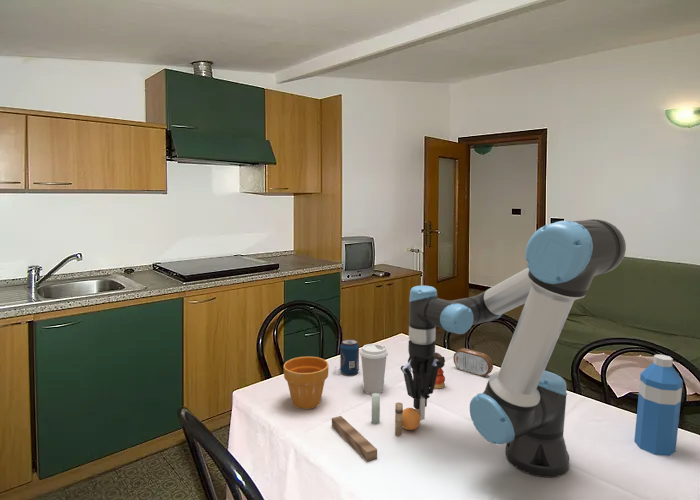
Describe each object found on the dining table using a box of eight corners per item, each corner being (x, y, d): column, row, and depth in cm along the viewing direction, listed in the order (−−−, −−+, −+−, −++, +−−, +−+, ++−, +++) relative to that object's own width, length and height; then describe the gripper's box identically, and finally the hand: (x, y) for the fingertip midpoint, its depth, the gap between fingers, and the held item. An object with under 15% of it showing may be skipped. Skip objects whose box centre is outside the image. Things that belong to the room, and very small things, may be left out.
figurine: (448, 385, 165) (449, 352, 163) (442, 391, 160) (443, 357, 159) (431, 381, 168) (432, 348, 167) (425, 386, 164) (426, 353, 162)
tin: (492, 377, 172) (493, 354, 171) (489, 379, 170) (490, 357, 169) (455, 366, 182) (456, 345, 181) (451, 368, 180) (452, 347, 179)
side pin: (381, 422, 139) (381, 395, 138) (374, 424, 138) (374, 397, 137) (376, 419, 141) (377, 392, 140) (370, 421, 140) (370, 394, 139)
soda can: (338, 369, 178) (338, 339, 177) (356, 368, 180) (356, 337, 178) (342, 377, 172) (342, 345, 170) (361, 375, 173) (361, 343, 172)
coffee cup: (385, 397, 156) (386, 353, 154) (357, 394, 158) (357, 351, 155) (389, 385, 165) (389, 343, 163) (362, 382, 167) (362, 342, 165)
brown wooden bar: (377, 458, 121) (377, 449, 121) (367, 461, 120) (367, 452, 119) (340, 423, 138) (340, 415, 138) (331, 426, 137) (331, 418, 137)
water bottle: (676, 460, 121) (686, 366, 117) (633, 449, 125) (642, 359, 122) (674, 443, 128) (683, 355, 125) (634, 433, 133) (642, 348, 130)
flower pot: (334, 409, 147) (334, 369, 145) (289, 416, 143) (289, 375, 141) (321, 390, 160) (321, 354, 159) (280, 397, 156) (279, 359, 154)
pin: (403, 435, 132) (404, 404, 131) (397, 437, 131) (398, 406, 130) (399, 431, 134) (400, 401, 133) (393, 433, 133) (393, 403, 132)
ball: (426, 414, 134) (409, 413, 131) (421, 434, 134) (404, 433, 132) (415, 404, 139) (398, 403, 137) (410, 423, 140) (393, 423, 137)
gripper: (431, 333, 140) (429, 407, 144) (395, 339, 134) (394, 417, 138) (448, 340, 134) (445, 418, 137) (410, 348, 128) (408, 429, 131)
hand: (419, 417), depth 138 cm, fingers closed
